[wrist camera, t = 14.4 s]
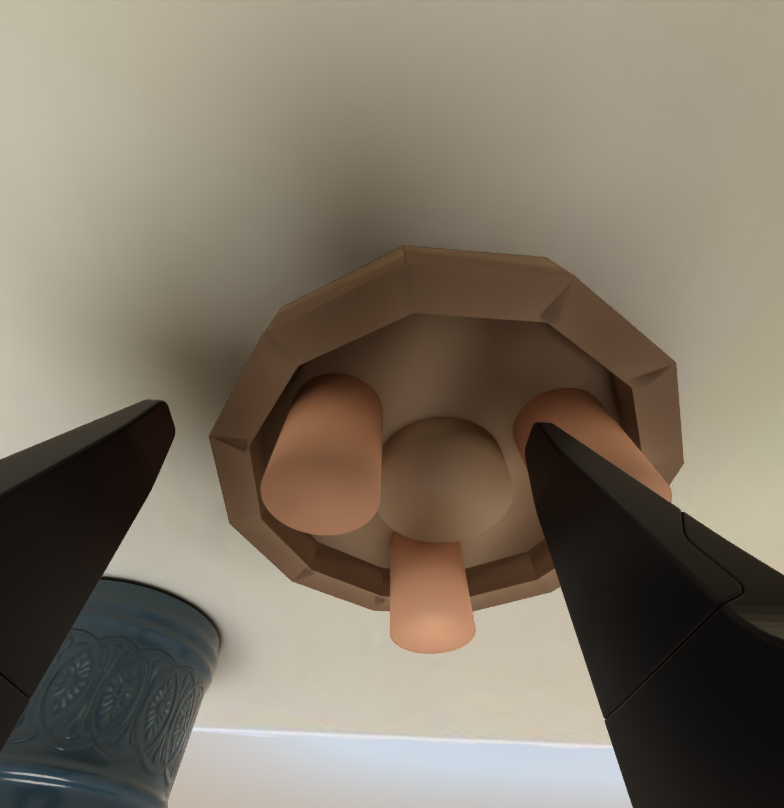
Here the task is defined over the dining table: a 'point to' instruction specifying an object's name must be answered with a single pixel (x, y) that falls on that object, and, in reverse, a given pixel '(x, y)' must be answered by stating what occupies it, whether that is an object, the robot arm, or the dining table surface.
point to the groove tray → (441, 411)
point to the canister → (113, 705)
